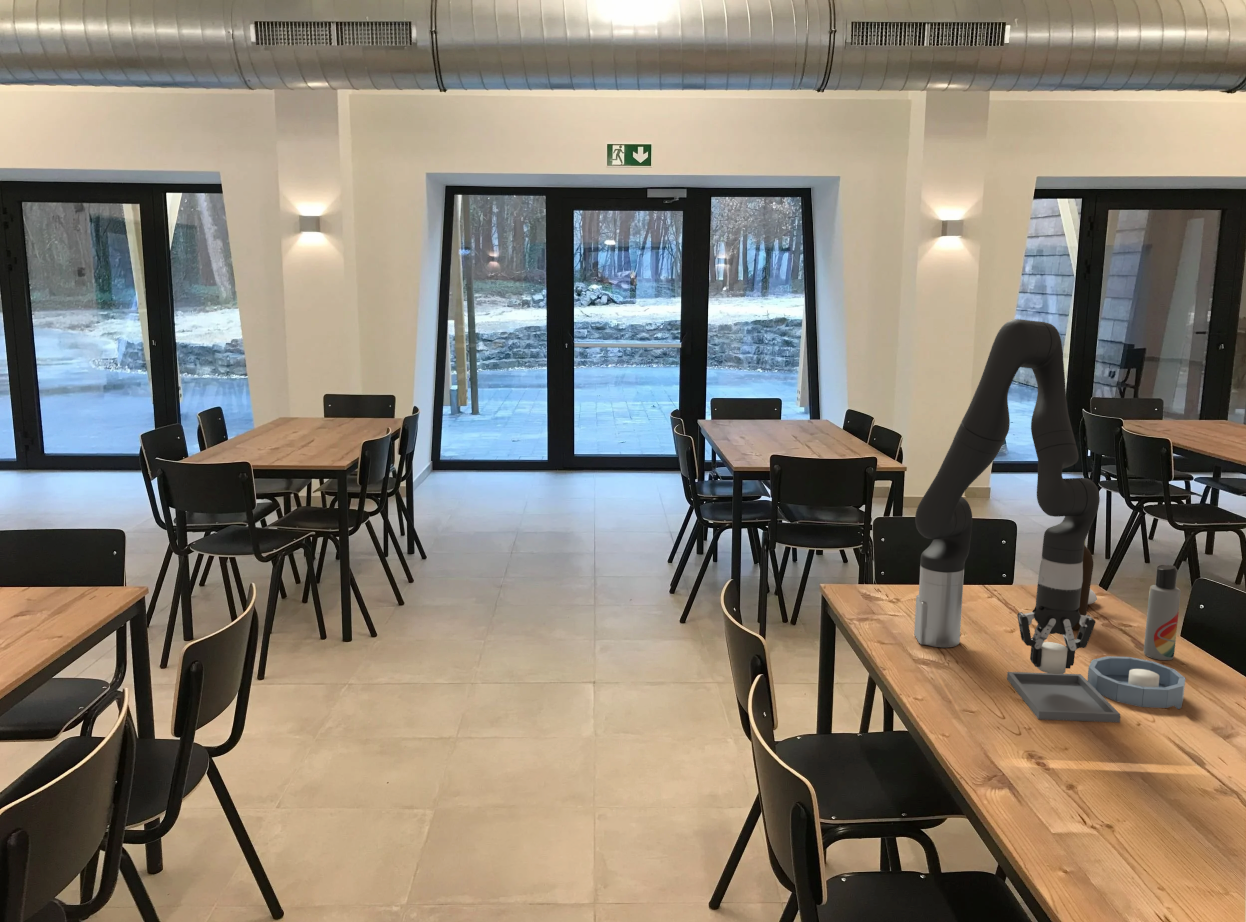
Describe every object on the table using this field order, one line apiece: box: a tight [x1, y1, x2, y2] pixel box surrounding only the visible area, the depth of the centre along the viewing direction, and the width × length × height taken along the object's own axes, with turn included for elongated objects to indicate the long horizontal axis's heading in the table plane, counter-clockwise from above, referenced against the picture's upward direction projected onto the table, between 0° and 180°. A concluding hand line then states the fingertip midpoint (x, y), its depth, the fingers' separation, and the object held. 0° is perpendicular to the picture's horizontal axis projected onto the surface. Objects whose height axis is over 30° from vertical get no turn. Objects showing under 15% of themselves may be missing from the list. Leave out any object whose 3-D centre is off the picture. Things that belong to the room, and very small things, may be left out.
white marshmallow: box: [1128, 669, 1159, 687], centre depth 174 cm, size 5×5×4 cm
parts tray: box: [1006, 671, 1121, 724], centre depth 173 cm, size 14×18×2 cm
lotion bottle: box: [1143, 564, 1182, 661], centre depth 195 cm, size 6×6×20 cm
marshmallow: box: [1036, 641, 1068, 674], centre depth 176 cm, size 5×5×4 cm
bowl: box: [1086, 655, 1186, 710], centre depth 177 cm, size 16×16×4 cm
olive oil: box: [1072, 544, 1094, 631], centre depth 215 cm, size 11×11×25 cm
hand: (1051, 665), depth 177 cm, fingers closed on marshmallow, 5 cm apart
